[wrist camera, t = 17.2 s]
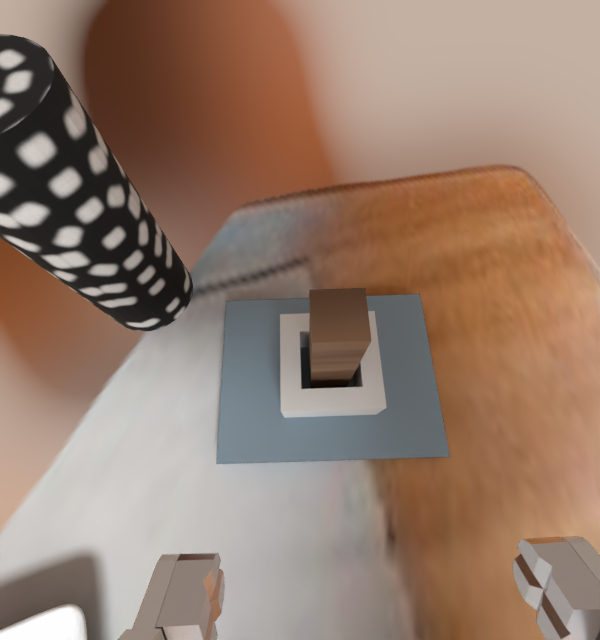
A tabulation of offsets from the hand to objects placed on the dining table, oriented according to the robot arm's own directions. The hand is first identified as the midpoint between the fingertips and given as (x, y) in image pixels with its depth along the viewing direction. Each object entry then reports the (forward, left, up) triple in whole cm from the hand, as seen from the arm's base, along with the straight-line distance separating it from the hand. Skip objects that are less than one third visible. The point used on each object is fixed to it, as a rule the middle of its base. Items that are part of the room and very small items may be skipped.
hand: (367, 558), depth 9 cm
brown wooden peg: (+9, 0, -17) cm, 20 cm away
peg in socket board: (+9, 0, -19) cm, 21 cm away
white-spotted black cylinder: (+18, +17, -19) cm, 31 cm away
